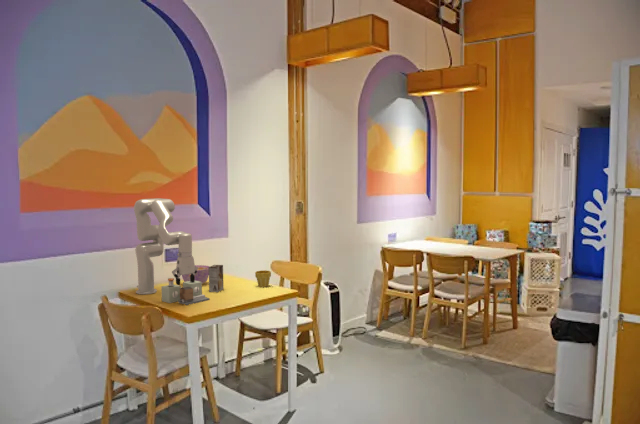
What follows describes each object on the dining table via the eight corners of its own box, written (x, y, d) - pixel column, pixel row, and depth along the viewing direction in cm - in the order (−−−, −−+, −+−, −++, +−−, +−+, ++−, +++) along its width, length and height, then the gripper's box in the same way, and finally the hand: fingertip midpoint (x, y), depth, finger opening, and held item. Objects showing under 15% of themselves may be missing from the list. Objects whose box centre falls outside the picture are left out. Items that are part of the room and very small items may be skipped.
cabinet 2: (183, 296, 321) (182, 282, 320) (194, 294, 327) (193, 280, 326) (191, 298, 316) (191, 284, 315) (202, 296, 322) (201, 282, 321)
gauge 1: (167, 290, 309) (166, 278, 309) (172, 289, 312) (171, 277, 311) (170, 291, 307) (170, 279, 307) (175, 290, 310) (175, 278, 309)
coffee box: (214, 288, 342) (214, 264, 340) (223, 289, 340) (223, 264, 339) (208, 291, 333) (208, 267, 331) (218, 292, 331) (217, 267, 330)
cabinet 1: (161, 301, 310) (161, 286, 309) (173, 298, 316) (173, 284, 315) (169, 303, 304) (169, 288, 304) (181, 300, 310) (181, 286, 310)
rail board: (177, 302, 306) (177, 298, 306) (200, 297, 318) (200, 293, 318) (186, 305, 300) (186, 300, 300) (209, 299, 312) (209, 295, 312)
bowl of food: (174, 285, 351) (173, 268, 350) (195, 280, 368) (195, 264, 367) (195, 289, 340) (195, 271, 340) (216, 283, 357) (216, 266, 357)
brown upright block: (180, 300, 305) (179, 287, 305) (187, 299, 309) (186, 286, 308) (186, 302, 301) (185, 289, 301) (193, 300, 305) (192, 287, 304)
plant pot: (253, 287, 344) (253, 273, 343) (258, 284, 354) (257, 270, 354) (268, 288, 342) (268, 273, 342) (272, 284, 353) (272, 270, 352)
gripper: (176, 257, 294) (176, 287, 296) (201, 253, 307) (201, 282, 309) (168, 255, 299) (168, 284, 301) (193, 251, 312) (193, 279, 314)
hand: (185, 283), depth 305 cm, fingers open, 9 cm apart
